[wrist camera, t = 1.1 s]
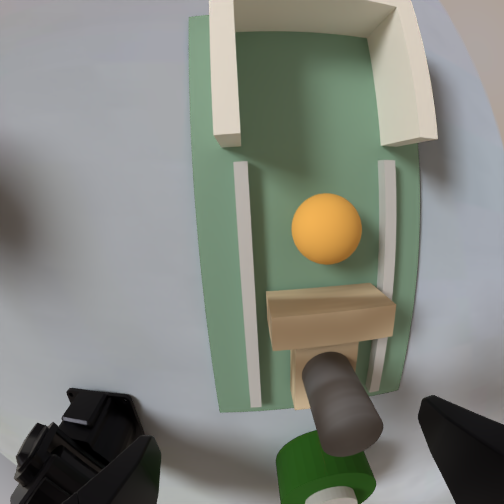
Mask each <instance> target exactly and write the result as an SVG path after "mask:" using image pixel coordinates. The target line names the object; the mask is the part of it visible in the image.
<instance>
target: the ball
mask: <svg viewBox="0 0 504 504" xmlns="http://www.w3.org/2000/svg"><path fill="white" fill-rule="evenodd" d="M291 231H292V237H293V240H294V243H295V245H296V247H297V249H298V250H299V251H300V253H301V254H302V255H303V256H305V257H306V258H307V259H309V260H311V261H313V262H315V263H319V264H324V265H330V264H335V263H339V262H341V261H343V260H345V259H347V258H348V257H349V256H350V255H351V254H352V253H353V252H354V251H355V250H356V248H357V246H358V244H359V242H360V239H361V235H362V224H361V220H360V216H359V214H358V212H357V210H356V209H355V207H354V206H353V205H352V204H351V203H350V202H349V201H348V200H346V199H345V198H343V197H341V196H339V195H336V194H331V193H323V194H317V195H314V196H312V197H310V198H308V199H307V200H305V201H304V202H303V203H302V204H301V205H300V206H299V207H298V209H297V210H296V212H295V214H294V217H293V220H292V228H291Z"/></svg>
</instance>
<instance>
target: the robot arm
mask: <svg viewBox="0 0 504 504" xmlns="http://www.w3.org/2000/svg"><path fill="white" fill-rule="evenodd" d="M67 396H68V398H69V400H70V402H71V404H70V406H69V407H68V409H67V410H66V412H65V413H64V415H63V416H62V418H61V419H62V422H61V424H60V425H59V427H58V426H57V425H56V424H55V423H54V422H52V423H51V424H50V425H49V426H48V427H47V426H46V425H42V424H40V423H37V424H36V425H35V426H34V427H33V429H32V430H31V431H30V433H29V434H28V436H27V437H26V439H25V440H24V442H23V444H22V446H21V448H20V450H19V452H18V454H17V456H16V459H17V463H18V465H17V469H16V473H15V476H14V479H15V480H16V481H17V482H19V485H18V486H17V488H16V489H15V491H14V492H13V494H12V496H11V500H10V502H11V504H157V499H158V492H159V479H160V465H161V452H160V449H159V447H158V445H157V443H156V440H155V438H154V437H153V436H150V435H145V434H144V432H143V429H142V426H141V424H140V421H139V418H138V415H137V413H136V410H135V407H134V404H133V401H132V398H131V397H130V396H129V395H127V394H118V393H107V392H98V391H90V390H82V389H75V388H69V389H68V390H67ZM124 399H126V400H127V401H126V400H124ZM418 420H419V423H420V426H421V428H422V431H423V434H424V436H425V439H426V442H427V444H428V447H429V450H430V452H431V454H432V456H433V458H434V460H435V462H436V464H437V466H438V468H439V470H440V472H441V474H442V476H443V478H444V480H445V482H446V484H447V486H448V488H449V490H450V492H451V494H452V496H453V499H454V501H455V503H456V504H504V425H503V424H501V423H498V422H496V421H493V420H491V419H488V418H486V417H484V416H481V415H479V414H476V413H474V412H472V411H469V410H467V409H465V408H462V407H460V406H458V405H455V404H453V403H451V402H449V401H446V400H444V399H442V398H440V397H437V396H435V395H431V396H428V397H425V398H423V400H422V402H421V406H420V410H419V413H418Z"/></svg>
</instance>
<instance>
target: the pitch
mask: <svg viewBox="0 0 504 504" xmlns="http://www.w3.org/2000/svg"><path fill="white" fill-rule="evenodd" d="M189 95H190V124H191V146H192V164H193V180H194V195H195V208H196V221H197V233H198V244H199V255H200V265H201V275H202V284H203V293H204V302H205V311H206V319H207V327H208V335H209V342H210V350H211V357H212V364H213V371H214V378H215V385H216V391H217V398H218V404H219V410H220V413H221V412H248V411H264V410H277V409H288V408H294V404H293V399H292V395H291V390H290V350H281V351H273V350H272V344H271V338H270V333H269V327H268V321H267V302H266V291H279V290H293V289H305V288H318V287H329V286H341V285H351V284H362V283H371V284H372V285H374V286H375V287H376V288H377V289H378V290H380V291H381V292H382V293H383V294H384V295H386V296H387V297H388V298H389V299H390V300H391V301H393V302H394V303H395V304H396V312H395V320H394V328H393V335H392V336H391V337H385V338H379V339H373V340H366V341H359V344H358V354H357V362H356V370H355V373H356V375H357V376H358V378H359V380H360V382H361V384H362V385H363V387H364V389H365V391H366V393H367V394H368V396H374V395H378V394H383V393H388V392H392V391H396V390H398V389H399V384H400V380H401V376H402V371H403V366H404V361H405V356H406V351H407V345H408V339H409V333H410V327H411V320H412V313H413V305H414V297H415V288H416V278H417V266H418V251H419V230H420V176H419V155H418V143H419V142H425V141H431V140H437V139H438V135H437V124H436V115H435V107H434V100H433V93H432V87H431V81H430V75H429V70H428V65H427V60H426V55H425V51H424V46H423V42H422V38H421V34H420V30H419V26H418V22H417V19H416V15H415V12H414V9H413V5H412V2H411V0H209V15H203V16H195V17H189ZM323 193H331V194H336V195H339V196H341V197H343V198H345V199H346V200H348V201H349V202H350V203H351V204H352V205H353V206H354V207H355V209H356V210H357V212H358V214H359V216H360V220H361V224H362V235H361V239H360V242H359V244H358V246H357V248H356V250H355V251H354V252H353V253H352V254H351V255H350V256H349V257H348V258H347V259H345V260H343V261H341V262H339V263H335V264H330V265H324V264H319V263H315V262H313V261H311V260H309V259H307V258H306V257H305V256H303V255H302V254H301V253H300V251H299V250H298V249H297V247H296V245H295V243H294V240H293V237H292V231H291V228H292V220H293V217H294V214H295V212H296V210H297V209H298V207H299V206H300V205H301V204H302V203H303V202H304V201H305V200H307V199H308V198H310V197H312V196H314V195H317V194H323Z"/></svg>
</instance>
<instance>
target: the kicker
mask: <svg viewBox="0 0 504 504" xmlns="http://www.w3.org/2000/svg"><path fill="white" fill-rule="evenodd" d="M266 302H267V321H268V327H269V333H270V338H271V344H272V350H273V351H281V350H290V390H291V395H292V399H293V404H294V408H295V410H300V409H309V408H311V411H312V415H313V418H314V422H315V425H316V429H317V432H318V436H319V440H320V443H321V447H322V449H323V451H324V452H325V453H327V454H328V455H331V456H335V457H345V456H351V455H354V454H357V453H359V452H362V451H364V450H365V449H367V448H368V447H370V446H371V445H372V444H374V443H375V442H376V441H377V439H378V438H379V437H380V435H381V433H382V431H383V422H382V420H381V418H380V416H379V414H378V413H377V411H376V409H375V407H374V405H373V403H372V402H371V400H370V398H369V396H368V394H367V393H366V391H365V389H364V387H363V385H362V384H361V382H360V380H359V378H358V376H357V375H356V373H355V370H356V362H357V354H358V344H359V341H366V340H373V339H379V338H385V337H391V336H392V335H393V328H394V320H395V312H396V304H395V303H394V302H393V301H391V300H390V299H389V298H388V297H387V296H386V295H384V294H383V293H382V292H381V291H380V290H378V289H377V288H376V287H375V286H374V285H372V284H371V283H362V284H351V285H341V286H329V287H318V288H305V289H293V290H279V291H266Z"/></svg>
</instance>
